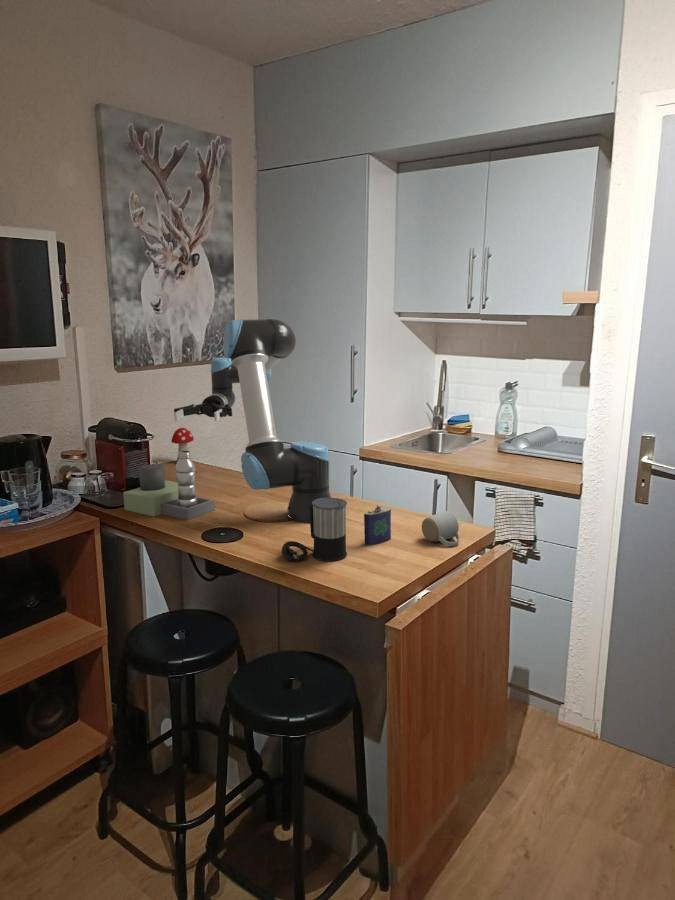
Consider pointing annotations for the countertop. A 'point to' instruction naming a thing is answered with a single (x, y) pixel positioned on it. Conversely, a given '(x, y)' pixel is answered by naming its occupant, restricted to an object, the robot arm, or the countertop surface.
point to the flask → (377, 526)
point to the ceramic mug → (441, 528)
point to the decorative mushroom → (182, 439)
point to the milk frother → (323, 532)
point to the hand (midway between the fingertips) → (195, 417)
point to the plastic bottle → (185, 480)
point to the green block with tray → (161, 496)
